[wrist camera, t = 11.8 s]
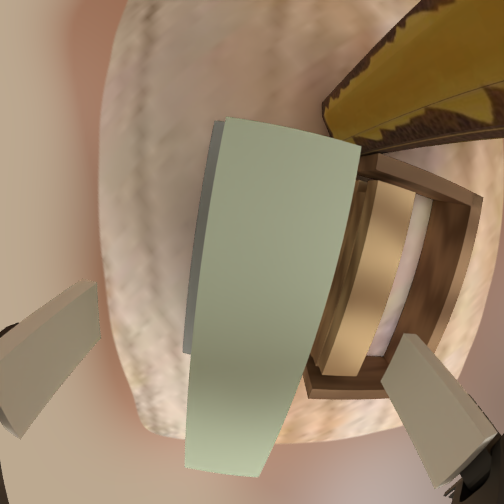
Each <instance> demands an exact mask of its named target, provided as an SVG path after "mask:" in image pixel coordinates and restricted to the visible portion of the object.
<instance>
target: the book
mask: <svg viewBox="0 0 504 504" xmlns="http://www.w3.org/2000/svg"><path fill="white" fill-rule="evenodd" d="M322 110H323V119H324V122H325V124H326V127H327V129H328V131H329V134H330V136H331V138H334V139H338V140H342V141H345V142H348V143H352V144H355V145H358V146H361V152H360V157H362V156H367V155H372V154H377V153H380V154H383V153H389V152H394V151H400V150H406V149H412V148H418V147H425V146H434V145H442V144H449V143H457V142H466V141H475V140H486V139H498V138H504V0H421V1H420V2H419V3H418V4H417V5H416V6H415V7H414V8H413V9H412V10H410V11H409V12H408V13H407V14H406V15H405V16H404V17H403V18H402V19H401V20H400V21H399V22H398V23H397V24H396V25H395V26H394V27H393V28H392V29H391V30H390V31H389V32H388V33H387V34H386V35H385V36H384V37H383V38H382V39H381V40H380V41H379V42H378V43H377V44H376V45H375V46H374V47H373V48H372V49H371V51H370V52H369V53H368V54H367V55H366V56H365V57H364V58H363V59H362V60H361V61H360V62H359V63H358V64H357V65H356V66H355V67H354V68H353V70H352V71H351V72H350V73H349V74H348V75H347V76H346V77H345V78H344V79H343V80H342V81H341V83H340V84H339V85H338V86H337V87H336V88H335V89H334V90H333V91H332V92H331V94H330V95H329V96H328V97H327V98H326V99H325V100H324V101H323V103H322Z"/></svg>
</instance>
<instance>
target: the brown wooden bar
mask: <svg viewBox="0 0 504 504" xmlns="http://www.w3.org/2000/svg"><path fill="white" fill-rule="evenodd" d="M414 198H415V192H412V191H409V190H406V189H404V188H401V187H398V186H395V185H391V184H388V183H385V182H382V181H379V180H368V182H365V181H361V180H356V181H355V187H354V192H353V197H352V202H351V206H350V211H349V216H348V220H347V225H346V229H345V234H344V238H343V242H342V246H341V250H340V254H339V258H338V262H337V266H336V270H335V273H334V277H333V281H332V284H331V288H330V291H329V295H328V298H327V302H326V305H325V308H324V312H323V315H322V318H321V321H320V325H319V328H318V331H317V334H316V337H315V340H314V343H313V346H312V349H311V352H310V354H311V357H313V360H314V363H315V366H319V368H320V371H321V374H322V375H333V376H357V374H358V372H359V370H360V368H361V366H362V363H363V361H364V359H365V357H366V354H367V352H368V350H369V347H370V345H371V342H372V340H373V338H374V335H375V333H376V330H377V327H378V325H379V322H380V320H381V317H382V314H383V311H384V309H385V306H386V303H387V300H388V297H389V294H390V291H391V288H392V285H393V282H394V279H395V275H396V272H397V269H398V265H399V262H400V258H401V255H402V251H403V247H404V243H405V239H406V235H407V231H408V227H409V223H410V218H411V213H412V209H413V204H414Z"/></svg>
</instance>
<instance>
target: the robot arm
mask: <svg viewBox="0 0 504 504" xmlns="http://www.w3.org/2000/svg"><path fill="white" fill-rule="evenodd" d="M100 338H101V335H100V325H99V313H98V296H97V282H92V281H89V280H86V279H81V280H80V281H78V282H77V283H75V284H74V285H72V286H71V287H69V288H68V289H66V290H65V291H64V292H62V293H61V294H59V295H58V296H56V297H55V298H53V299H52V300H50V301H49V302H48V303H46V304H45V305H44V306H42V307H41V308H39V309H38V310H36V311H35V312H34V313H32V314H31V315H30V316H28V317H27V318H26V319H24V320H23V321H22V322H20V323H16V324H13V325H10V326H8V327H6V328H5V329H4V330H2V331H1V332H0V421H1V423H2V425H3V426H4V428H5V429H6V430H8V431H9V432H10V433H12V434H13V435H15V436H16V437H17V438H19V439H21V438H22V436H23V435H24V434H25V432H26V431H27V430H28V428H29V427H30V425H31V424H32V423H33V421H34V420H35V419H36V417H37V416H38V415H39V413H40V412H41V411H42V409H43V408H44V407H45V405H46V404H47V403H48V402H49V400H50V399H51V398H52V396H53V395H54V394H55V392H56V391H57V390H58V389H59V387H60V386H61V385H62V384H63V382H64V381H65V380H66V379H67V378H68V376H69V375H70V374H71V373H72V372H73V370H74V369H75V368H76V366H77V365H78V364H79V363H80V362H81V361H82V360H83V358H84V357H85V356H86V355H87V353H88V352H89V351H90V350H91V349H92V348H93V347H94V345H95V344H96V343H97V342H98V341H99V340H100ZM381 383H382V385H383V387H384V389H385V391H386V392H387V394H388V396H389V398H390V400H391V402H392V404H393V405H394V407H395V409H396V411H397V413H398V415H399V417H400V419H401V421H402V423H403V425H404V427H405V428H406V430H407V432H408V434H409V436H410V438H411V440H412V442H413V444H414V446H415V448H416V450H417V452H418V455H419V457H420V458H421V461H422V463H423V465H424V467H425V469H426V471H427V473H428V476H429V478H430V480H431V482H432V484H433V486H434V489H436V488H439V487H441V486H444V485H446V484H448V483H450V482H451V481H452V480H453V479H454V478H455V477H456V476H457V475H459V474H460V475H461V477H462V478H461V479H460V480H459V481H458V482H456V483H455V484H454V485H453V486H452V487H451V488H450V489H449V490H447V491H446V492H445V494H444V496H447V495H448V494H449V493H450V492H452V491H453V490H455V491H454V492H453V493H452V494H451V495H450V496H449V498H452V503H451V504H504V434H503V435H502V436H501V435H500V433H499V432H498V431H497V430H496V428H495V427H494V425H493V424H492V423H491V421H490V420H489V419H488V417H487V416H486V415H485V414H484V412H482V410H481V408H480V407H479V406H477V403H476V402H475V401H474V399H473V398H472V397H471V396H470V395H469V394H468V393H467V392H466V391H465V390H464V389H463V387H462V386H461V385H460V384H459V382H458V381H457V380H456V379H455V378H454V376H453V375H452V374H451V373H450V372H449V371H448V369H447V368H446V367H445V366H444V365H443V364H442V362H441V361H440V360H439V359H438V358H437V357H436V356H435V354H434V353H433V352H432V351H431V350H430V349H429V348H428V347H427V345H426V344H425V343H424V342H423V341H422V340H421V339H420V338H419V337H418V336H417V334H407V333H404V334H403V336H402V338H401V340H400V343H399V345H398V347H397V349H396V351H395V354H394V356H393V358H392V360H391V362H390V364H389V366H388V368H387V370H386V372H385V374H384V376H383V378H382V380H381ZM0 504H9V502H8V498H7V494H6V490H5V485H4V480H3V476H2V470H1V464H0Z"/></svg>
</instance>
